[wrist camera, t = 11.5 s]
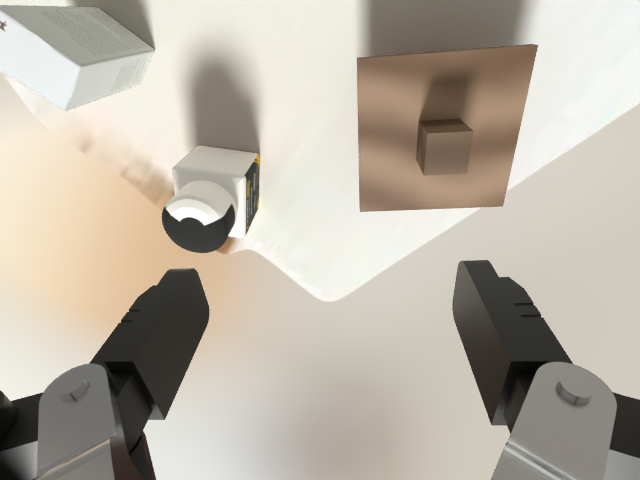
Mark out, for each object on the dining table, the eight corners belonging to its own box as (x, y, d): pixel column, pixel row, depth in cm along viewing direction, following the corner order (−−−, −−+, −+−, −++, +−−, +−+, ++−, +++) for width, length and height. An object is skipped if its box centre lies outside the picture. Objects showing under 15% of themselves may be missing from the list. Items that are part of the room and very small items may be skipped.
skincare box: (84, 46, 35) (-21, 58, 25) (98, 5, 33) (-10, 1, 23) (141, 87, 37) (64, 113, 27) (157, 50, 35) (81, 64, 25)
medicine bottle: (258, 208, 44) (232, 266, 34) (200, 201, 44) (157, 256, 34) (260, 152, 40) (231, 198, 30) (197, 144, 40) (146, 187, 30)
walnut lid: (356, 57, 30) (358, 64, 26) (532, 44, 29) (564, 48, 24) (359, 207, 37) (361, 231, 33) (499, 201, 36) (519, 226, 32)
